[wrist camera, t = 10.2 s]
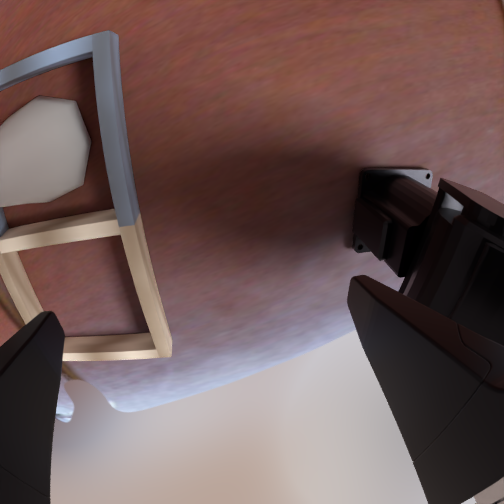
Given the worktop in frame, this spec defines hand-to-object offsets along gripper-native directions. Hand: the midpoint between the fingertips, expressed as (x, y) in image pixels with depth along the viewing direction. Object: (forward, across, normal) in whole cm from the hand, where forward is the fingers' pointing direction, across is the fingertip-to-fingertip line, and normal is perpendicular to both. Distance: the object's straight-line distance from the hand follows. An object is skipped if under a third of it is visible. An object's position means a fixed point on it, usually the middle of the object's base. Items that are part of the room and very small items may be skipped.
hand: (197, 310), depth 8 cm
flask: (+12, +10, -4) cm, 16 cm away
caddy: (+12, +10, +2) cm, 16 cm away
